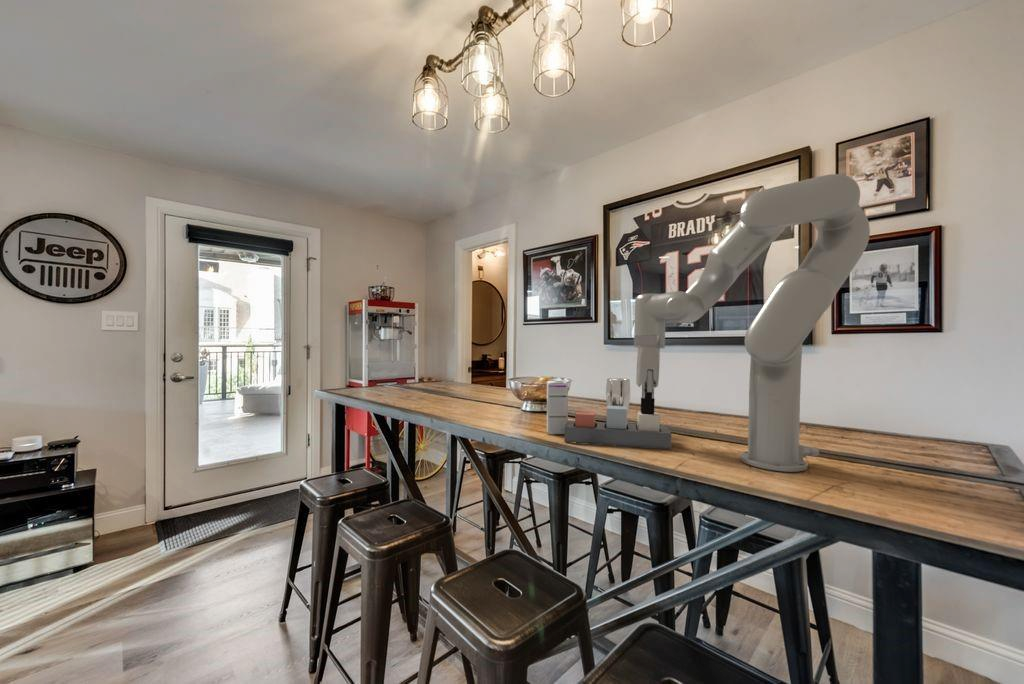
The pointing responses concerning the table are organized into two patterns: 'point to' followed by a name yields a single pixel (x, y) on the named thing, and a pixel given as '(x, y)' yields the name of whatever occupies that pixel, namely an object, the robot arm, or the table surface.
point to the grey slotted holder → (618, 436)
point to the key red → (585, 419)
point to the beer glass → (618, 392)
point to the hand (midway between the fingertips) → (647, 413)
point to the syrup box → (557, 406)
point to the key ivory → (648, 422)
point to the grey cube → (616, 417)
